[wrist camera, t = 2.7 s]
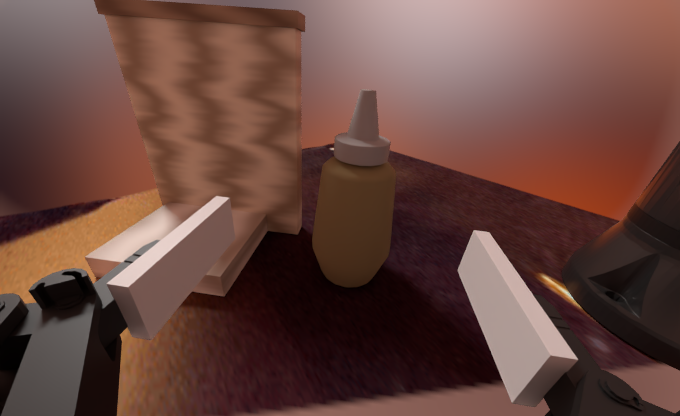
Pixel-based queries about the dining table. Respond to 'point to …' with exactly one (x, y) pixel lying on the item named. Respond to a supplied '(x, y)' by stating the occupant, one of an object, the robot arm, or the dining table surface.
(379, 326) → the dining table surface
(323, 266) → the squeeze bottle
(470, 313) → the dining table surface
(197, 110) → the wooden display stand
